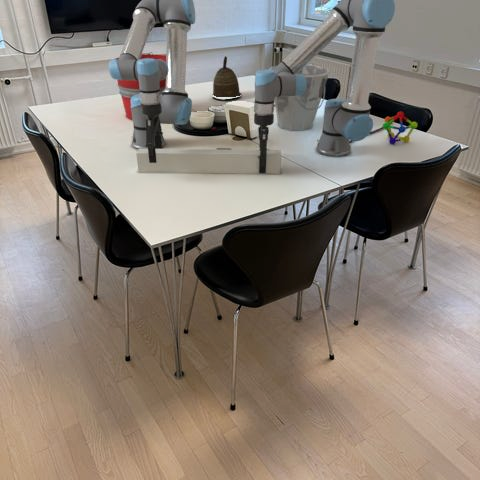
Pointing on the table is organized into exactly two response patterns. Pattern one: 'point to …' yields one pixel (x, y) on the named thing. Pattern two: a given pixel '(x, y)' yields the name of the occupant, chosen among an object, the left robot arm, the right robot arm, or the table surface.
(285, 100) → the bucket
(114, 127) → the table surface
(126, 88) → the bucket
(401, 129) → the educational toy
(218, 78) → the bell
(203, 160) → the bar
